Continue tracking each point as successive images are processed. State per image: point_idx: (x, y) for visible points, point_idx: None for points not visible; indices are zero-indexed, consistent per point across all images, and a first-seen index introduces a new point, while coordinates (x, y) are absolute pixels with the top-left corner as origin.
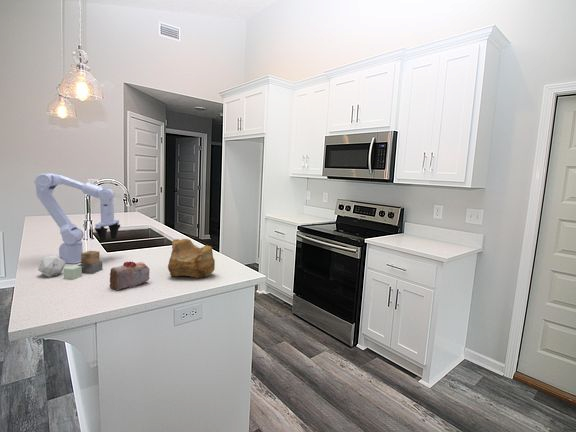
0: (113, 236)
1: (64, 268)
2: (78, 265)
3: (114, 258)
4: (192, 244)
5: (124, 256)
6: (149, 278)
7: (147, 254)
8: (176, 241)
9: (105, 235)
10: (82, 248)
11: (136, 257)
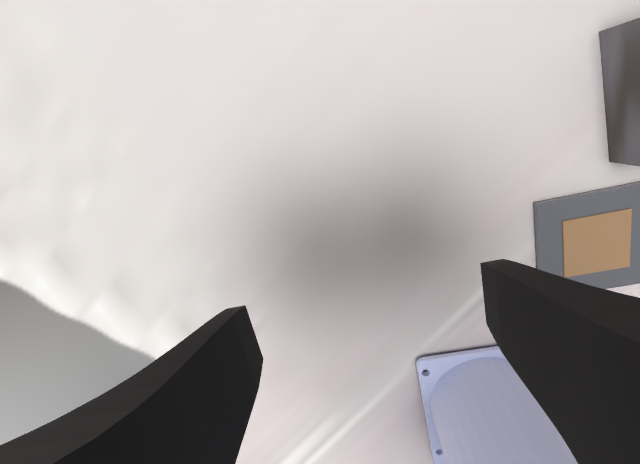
0: (241, 351)
1: None
2: (584, 281)
3: (291, 230)
4: None
5: (206, 211)
6: None
7: (38, 88)
8: None
9: (575, 299)
10: (483, 447)
11: (164, 93)
